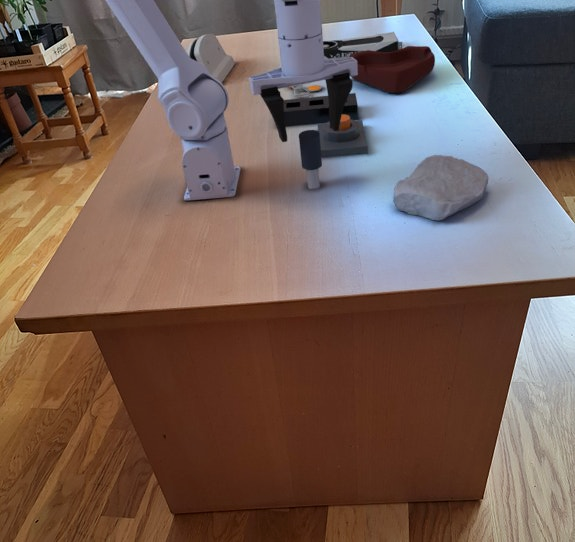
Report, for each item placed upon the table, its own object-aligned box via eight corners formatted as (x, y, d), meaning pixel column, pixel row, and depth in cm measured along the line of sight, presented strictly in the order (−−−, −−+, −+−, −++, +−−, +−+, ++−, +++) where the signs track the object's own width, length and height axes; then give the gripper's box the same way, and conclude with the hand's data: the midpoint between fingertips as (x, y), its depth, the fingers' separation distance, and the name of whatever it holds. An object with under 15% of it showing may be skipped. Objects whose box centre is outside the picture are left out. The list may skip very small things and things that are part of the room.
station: (367, 154, 90) (367, 136, 88) (319, 158, 91) (317, 141, 89) (362, 127, 99) (361, 111, 97) (318, 131, 100) (316, 115, 98)
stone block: (489, 198, 78) (427, 171, 83) (499, 171, 75) (434, 144, 79) (450, 241, 72) (385, 209, 76) (459, 213, 68) (391, 181, 73)
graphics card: (402, 40, 127) (295, 52, 129) (402, 55, 129) (297, 66, 131) (396, 29, 135) (295, 40, 137) (396, 43, 137) (297, 54, 139)
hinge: (219, 85, 126) (197, 44, 121) (202, 93, 128) (179, 52, 123) (235, 62, 139) (215, 24, 134) (219, 70, 141) (199, 32, 136)
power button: (351, 130, 92) (350, 120, 91) (331, 132, 92) (331, 122, 91) (349, 123, 95) (349, 113, 94) (331, 124, 95) (330, 115, 94)
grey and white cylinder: (323, 190, 82) (319, 137, 77) (303, 192, 82) (298, 139, 77) (323, 180, 85) (319, 128, 79) (304, 182, 85) (298, 130, 80)
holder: (358, 120, 102) (357, 104, 100) (278, 127, 103) (276, 112, 101) (355, 108, 107) (355, 92, 105) (279, 115, 108) (277, 100, 106)
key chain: (325, 93, 115) (324, 89, 114) (290, 99, 114) (290, 95, 114) (313, 75, 125) (312, 71, 124) (281, 80, 124) (281, 76, 124)
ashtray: (352, 101, 110) (351, 75, 107) (347, 74, 123) (346, 51, 120) (443, 92, 108) (444, 66, 105) (428, 66, 121) (429, 43, 118)
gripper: (343, 17, 74) (347, 114, 83) (239, 36, 72) (254, 133, 81) (361, 29, 69) (364, 131, 77) (249, 50, 67) (264, 152, 75)
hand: (309, 133), depth 78 cm, fingers open, 7 cm apart
